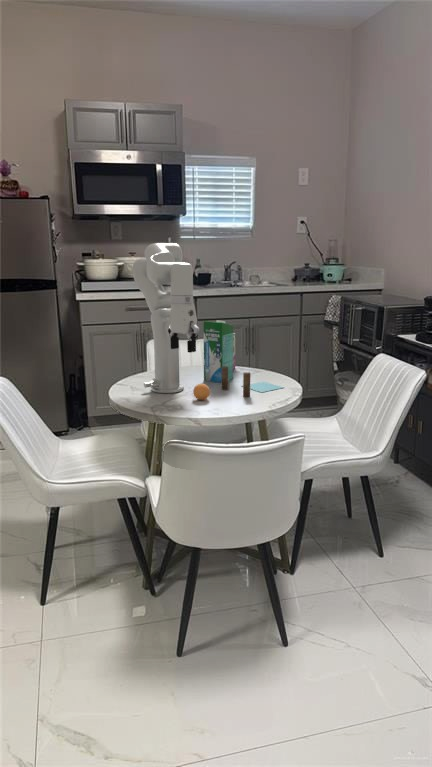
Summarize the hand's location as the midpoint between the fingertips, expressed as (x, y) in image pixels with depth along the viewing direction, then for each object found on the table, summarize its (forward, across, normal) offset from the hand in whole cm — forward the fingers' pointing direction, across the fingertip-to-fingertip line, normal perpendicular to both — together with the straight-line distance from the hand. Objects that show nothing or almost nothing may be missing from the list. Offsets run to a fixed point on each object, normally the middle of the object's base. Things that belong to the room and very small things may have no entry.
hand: (183, 350), depth 182 cm
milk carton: (+19, +20, -33) cm, 43 cm away
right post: (+19, -7, -24) cm, 31 cm away
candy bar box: (+19, +30, -48) cm, 59 cm away
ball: (+16, 0, -8) cm, 18 cm away
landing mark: (+19, -1, -38) cm, 43 cm away
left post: (+19, +6, -24) cm, 32 cm away
